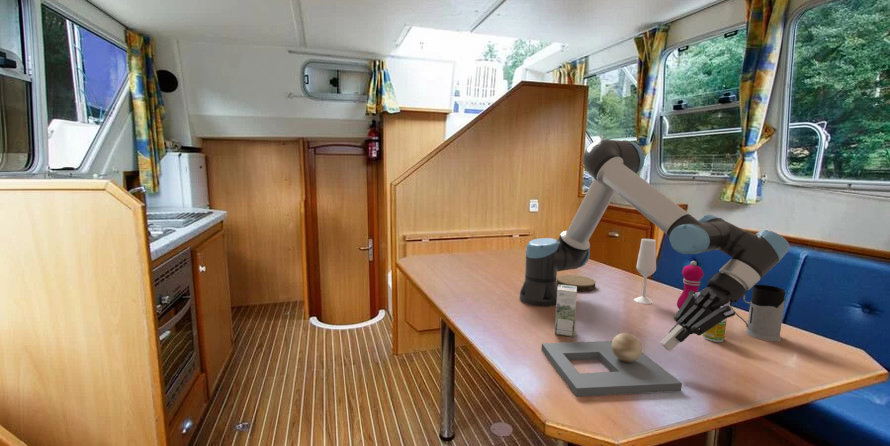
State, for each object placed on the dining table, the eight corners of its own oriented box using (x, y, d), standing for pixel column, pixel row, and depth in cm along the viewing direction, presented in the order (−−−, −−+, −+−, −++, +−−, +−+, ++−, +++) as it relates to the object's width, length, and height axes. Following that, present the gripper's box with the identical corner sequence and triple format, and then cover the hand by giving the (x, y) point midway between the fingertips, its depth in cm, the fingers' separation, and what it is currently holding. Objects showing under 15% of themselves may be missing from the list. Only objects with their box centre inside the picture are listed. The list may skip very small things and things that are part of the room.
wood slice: (563, 279, 178) (563, 273, 177) (599, 285, 168) (599, 279, 168) (551, 287, 165) (551, 280, 164) (589, 295, 156) (589, 287, 155)
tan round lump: (608, 362, 97) (609, 335, 96) (613, 351, 102) (615, 326, 101) (638, 370, 93) (641, 343, 92) (642, 358, 99) (645, 332, 98)
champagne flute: (634, 302, 147) (639, 240, 143) (632, 297, 153) (637, 237, 149) (654, 304, 144) (659, 242, 141) (652, 299, 150) (657, 239, 147)
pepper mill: (704, 322, 128) (710, 264, 125) (680, 320, 129) (686, 262, 126) (694, 314, 135) (701, 259, 132) (672, 313, 136) (677, 257, 133)
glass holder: (784, 344, 113) (791, 294, 110) (724, 332, 120) (730, 286, 118) (778, 333, 120) (784, 287, 118) (722, 323, 127) (727, 279, 125)
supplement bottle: (717, 344, 112) (721, 312, 111) (698, 336, 117) (701, 306, 115) (727, 340, 115) (731, 309, 113) (708, 333, 119) (712, 303, 118)
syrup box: (574, 330, 121) (577, 285, 119) (574, 337, 115) (577, 291, 113) (555, 327, 122) (557, 283, 120) (554, 334, 117) (556, 288, 115)
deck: (626, 347, 109) (627, 340, 109) (681, 391, 88) (681, 383, 87) (541, 350, 107) (541, 343, 107) (576, 396, 85) (576, 388, 85)
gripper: (764, 300, 91) (692, 369, 92) (719, 283, 104) (657, 344, 105) (746, 279, 90) (674, 349, 90) (703, 265, 103) (640, 326, 103)
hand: (665, 346), depth 97 cm, fingers closed
